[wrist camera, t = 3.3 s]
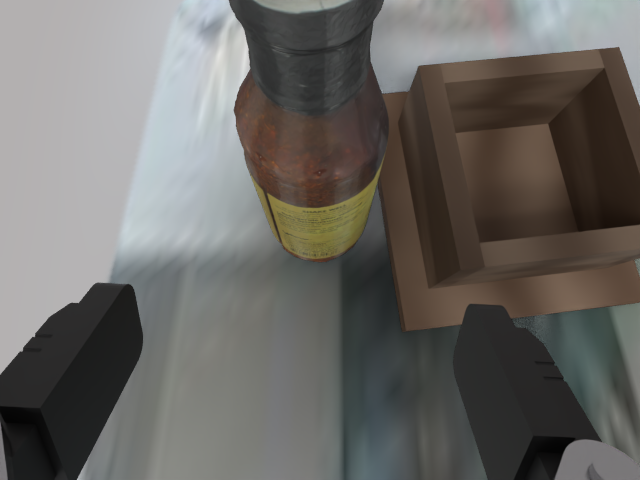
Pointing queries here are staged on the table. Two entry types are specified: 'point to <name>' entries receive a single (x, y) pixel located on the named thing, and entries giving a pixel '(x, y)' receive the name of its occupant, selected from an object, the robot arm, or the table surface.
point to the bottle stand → (513, 187)
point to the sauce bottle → (312, 119)
